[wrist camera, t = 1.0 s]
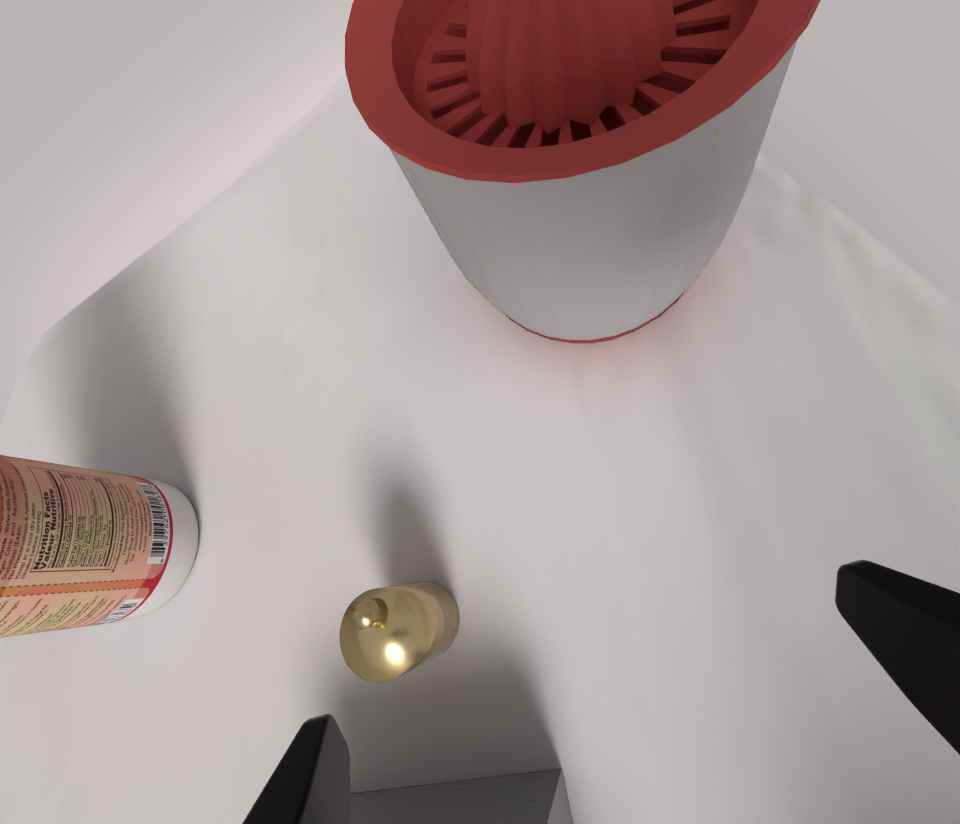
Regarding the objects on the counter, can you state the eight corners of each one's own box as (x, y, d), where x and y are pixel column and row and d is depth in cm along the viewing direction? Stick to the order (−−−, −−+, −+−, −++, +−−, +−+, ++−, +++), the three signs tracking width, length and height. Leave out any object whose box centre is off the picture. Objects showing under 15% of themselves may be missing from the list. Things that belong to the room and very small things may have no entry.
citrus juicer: (786, 183, 29) (1071, -453, 11) (636, 423, 28) (669, 162, 9) (564, 115, 35) (501, -373, 17) (429, 312, 34) (196, 14, 15)
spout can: (465, 650, 27) (411, 684, 20) (399, 661, 28) (325, 698, 21) (452, 575, 28) (398, 582, 21) (390, 588, 29) (318, 599, 22)
